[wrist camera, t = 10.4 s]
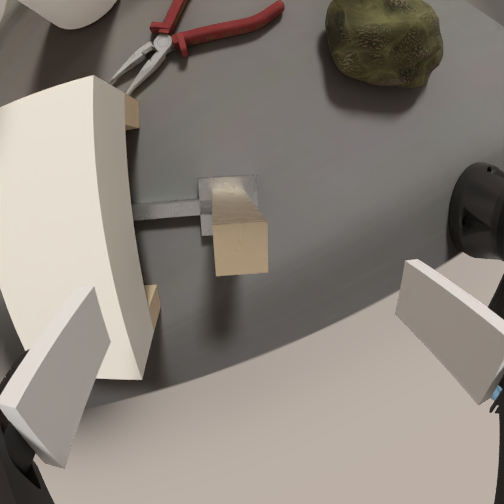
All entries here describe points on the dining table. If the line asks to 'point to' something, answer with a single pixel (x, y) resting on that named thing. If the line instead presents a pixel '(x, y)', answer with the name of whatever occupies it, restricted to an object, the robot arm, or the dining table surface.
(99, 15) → the wine bottle
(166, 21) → the pliers
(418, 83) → the decorative rock
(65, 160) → the cabinet
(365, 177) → the dining table surface
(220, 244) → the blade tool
